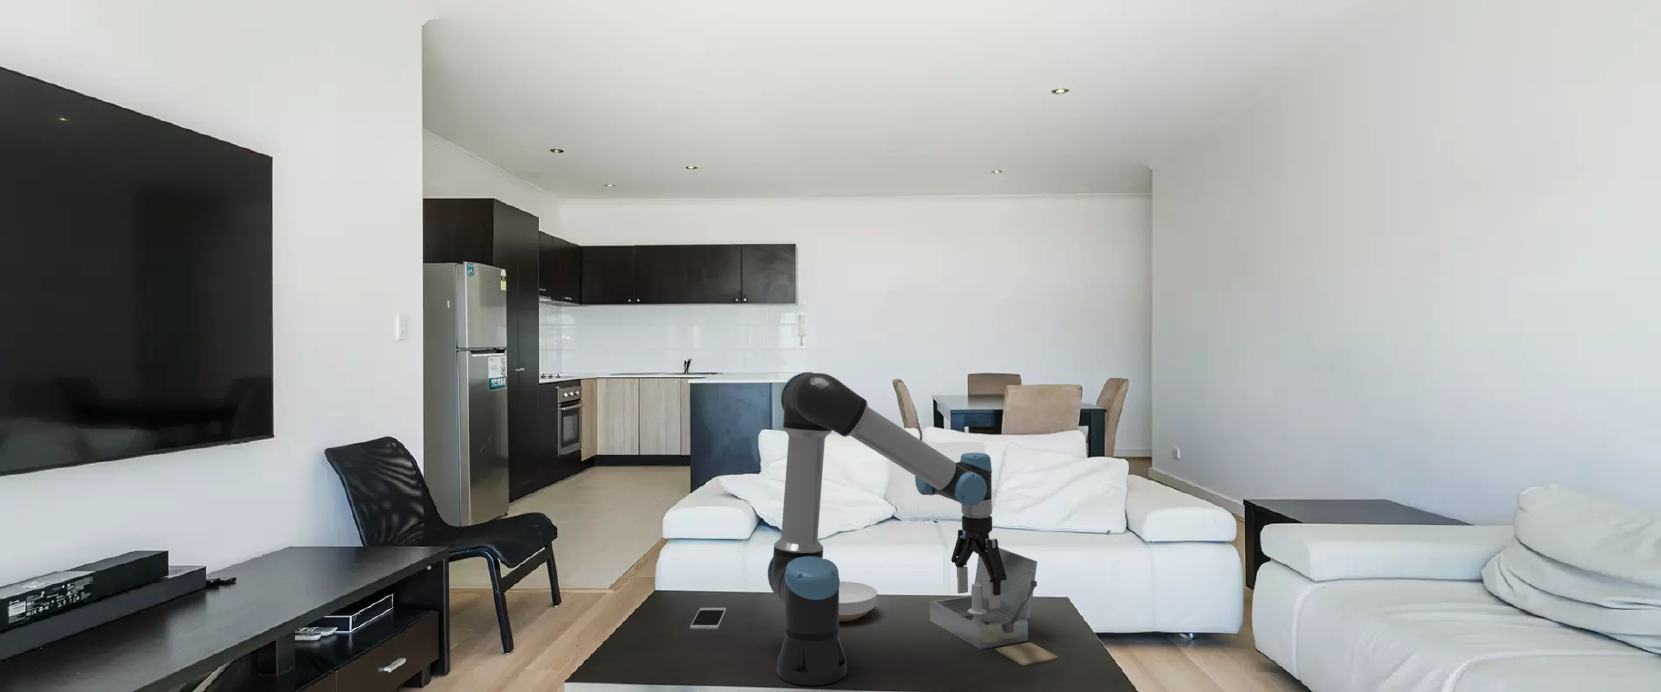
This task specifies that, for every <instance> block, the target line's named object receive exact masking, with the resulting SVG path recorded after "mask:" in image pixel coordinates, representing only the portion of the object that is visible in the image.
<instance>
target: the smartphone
mask: <svg viewBox="0 0 1661 692" xmlns="http://www.w3.org/2000/svg"><path fill="white" fill-rule="evenodd" d="M726 612H727V608H726V607H700V608H699V609H698V611H697V613H696V615H695V617H694V619H693V620H692V622H691V624H690V625H689V629H690V630H718V629H719V627H720V625H721V623H722V621H723V618H724V616H725V614H726Z"/></svg>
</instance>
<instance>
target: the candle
mask: <svg viewBox="0 0 1661 692" xmlns="http://www.w3.org/2000/svg"><path fill="white" fill-rule="evenodd" d="M970 595H972V608H971V609H968V612H969V613H970V614H972V615H971V616H973V617H972V620H971V621H972V622H974V623H976V624H978V625H980V626H983V625H986V624H985V623H984V620H982V619H981V616H982V615H983V614H985V613H986V612H987V611H986V610H984V609H982V598H983V586H982V585H981V584H979V583H978V582H977V583H975V582H974V583H972V584H971V591H970Z"/></svg>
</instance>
